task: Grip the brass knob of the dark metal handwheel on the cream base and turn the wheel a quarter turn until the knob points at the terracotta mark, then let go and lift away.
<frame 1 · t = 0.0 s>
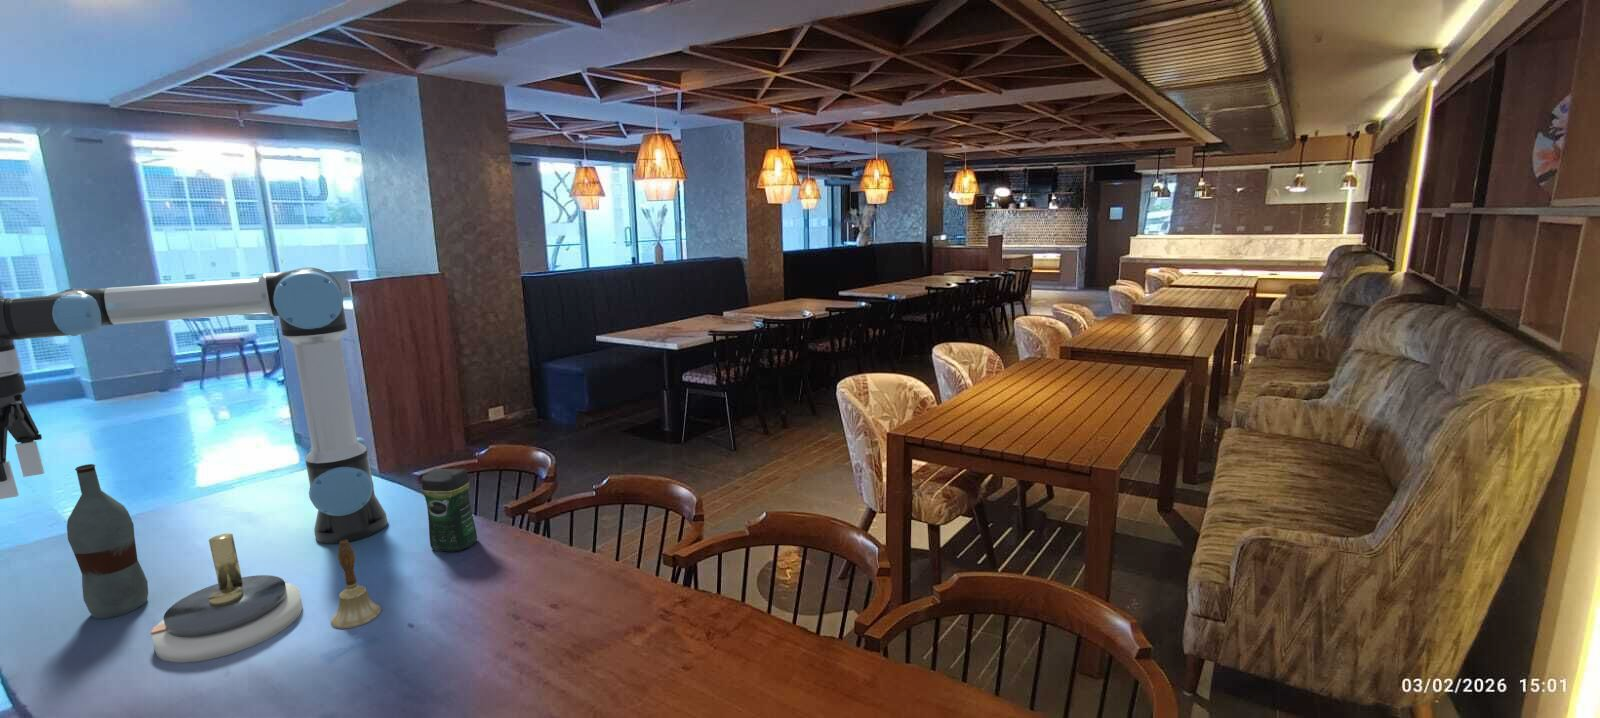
hand: (21, 485, 133), 28 cm above the table, tool pointing down, fingers open, 13 cm apart
coffee jar: (454, 545, 166), on the table
handwheel: (222, 580, 133), point 10 cm above the table, hinge at 0.0°
hand bell: (356, 617, 137), on the table
bottle: (120, 608, 143), on the table
wheel base: (232, 626, 135), on the table
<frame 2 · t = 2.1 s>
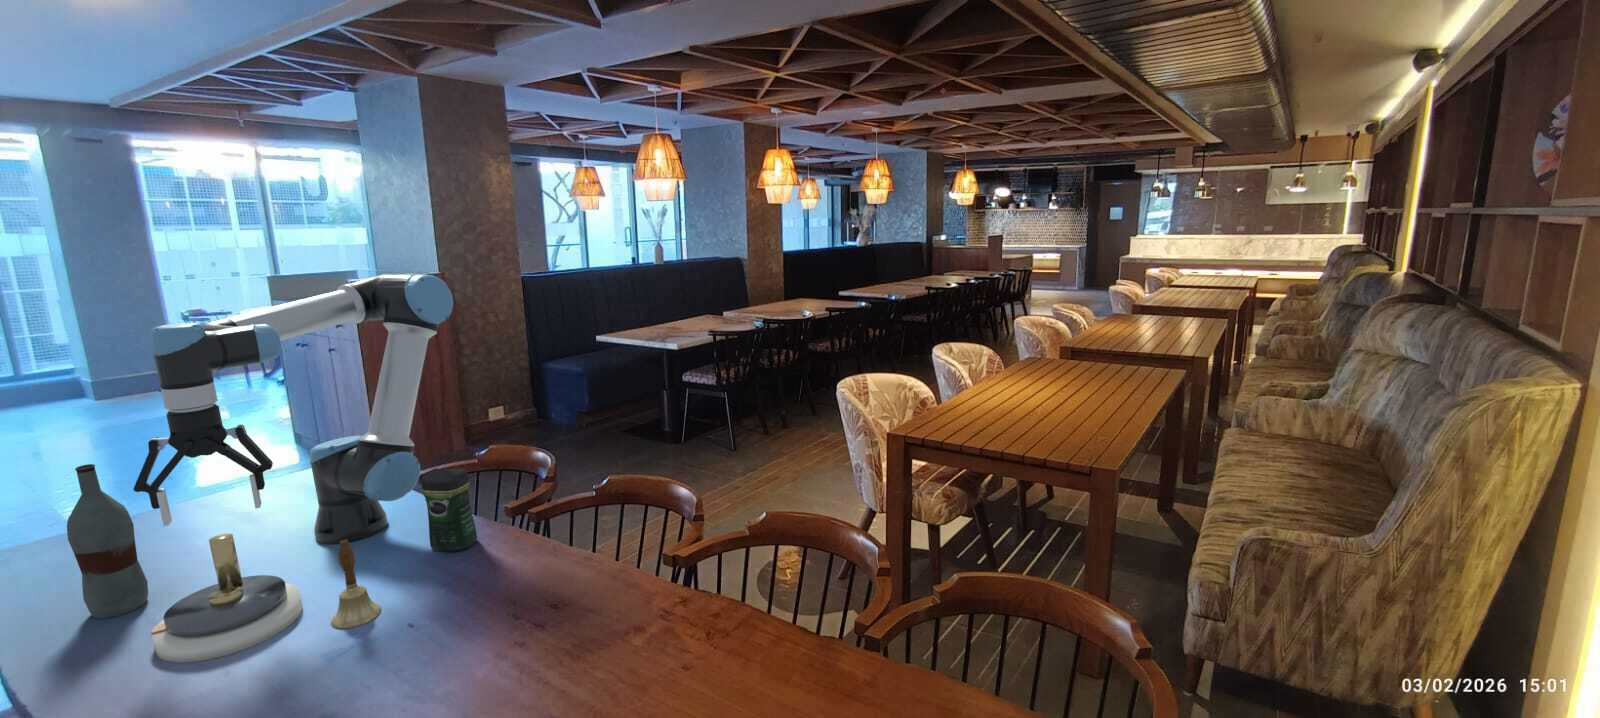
hand: (214, 514, 136), 20 cm above the table, tool pointing down, fingers open, 13 cm apart
nothing on the table moved.
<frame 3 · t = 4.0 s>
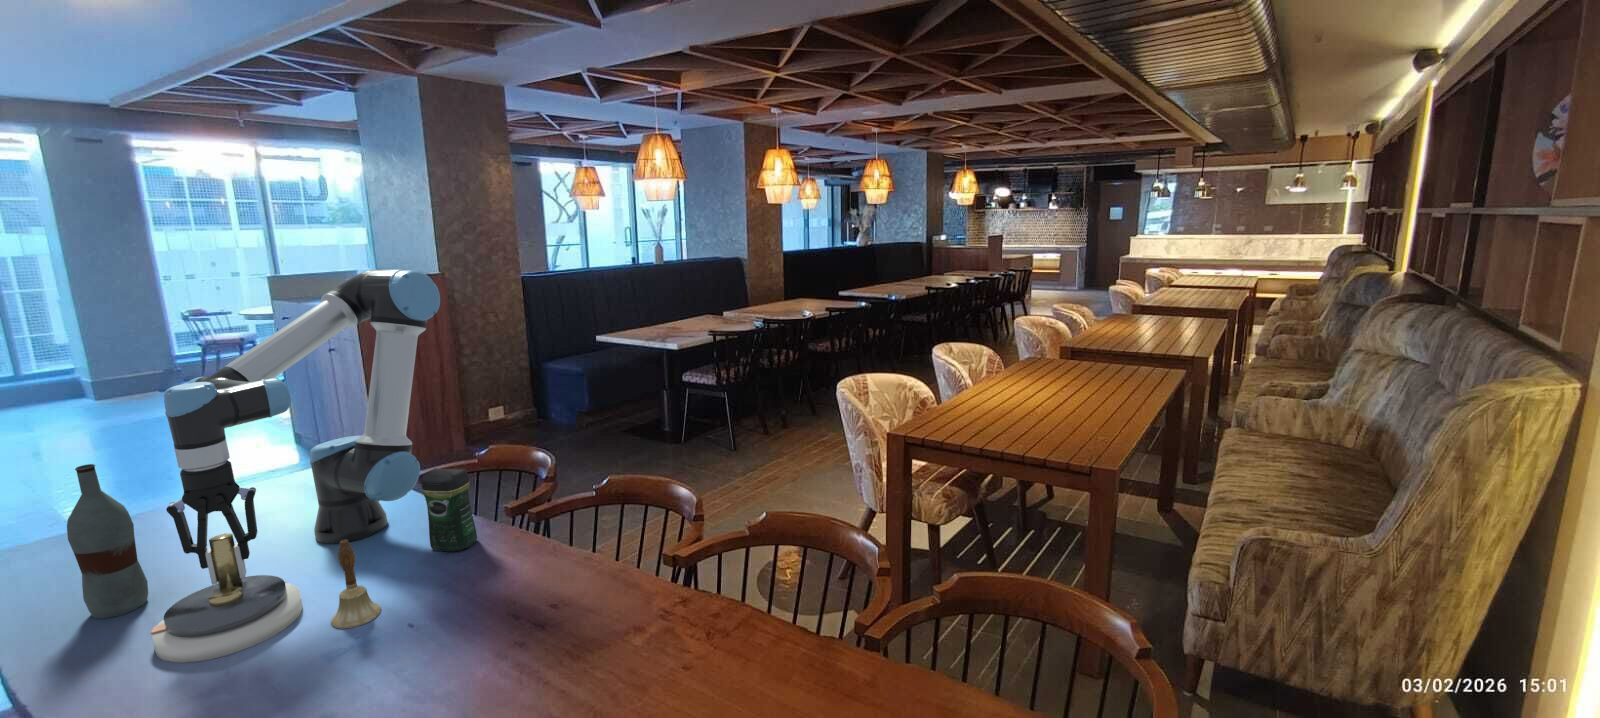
hand: (229, 577, 139), 7 cm above the table, tool pointing down, fingers closed on handwheel, 4 cm apart
handwheel: (222, 580, 133), point 10 cm above the table, hinge at 0.0°, touching gripper
everything else where it was.
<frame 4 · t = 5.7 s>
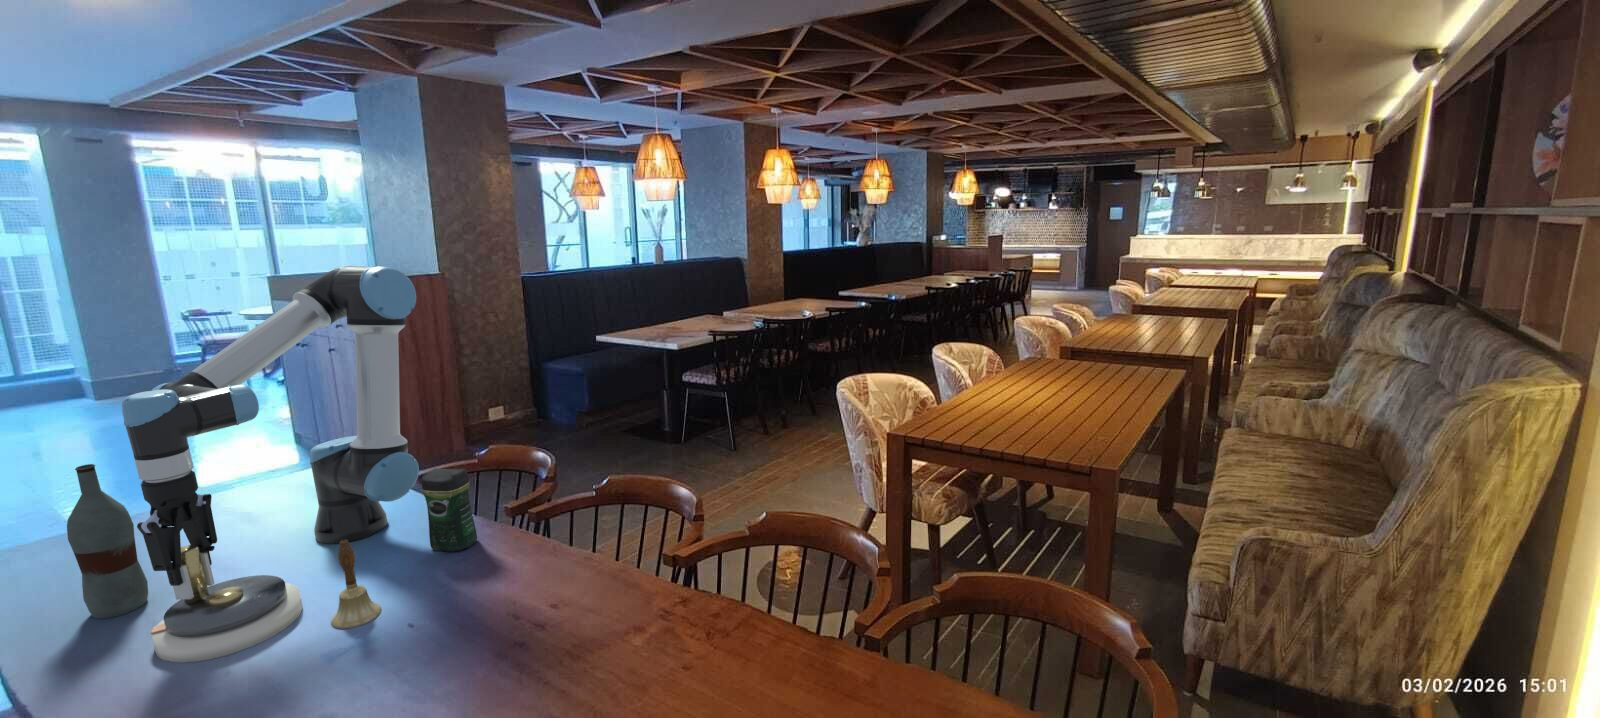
hand: (195, 591, 134), 7 cm above the table, tool pointing down, fingers open, 4 cm apart
handwheel: (222, 580, 133), point 10 cm above the table, hinge at 49.3°, touching gripper
everything else where it was.
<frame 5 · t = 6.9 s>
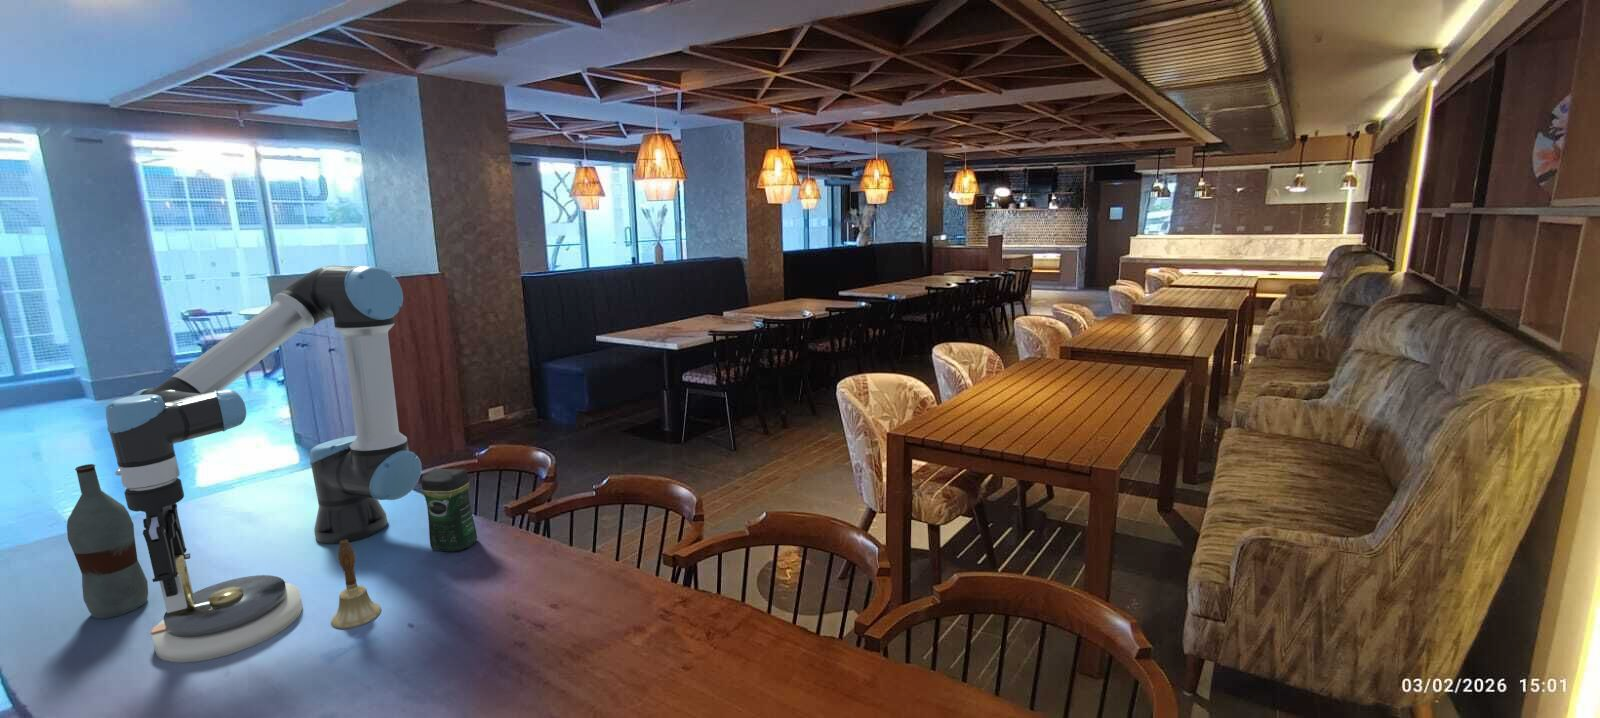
hand: (180, 602, 130), 7 cm above the table, tool pointing down, fingers open, 5 cm apart
handwheel: (222, 580, 133), point 10 cm above the table, hinge at 86.7°
everything else where it was.
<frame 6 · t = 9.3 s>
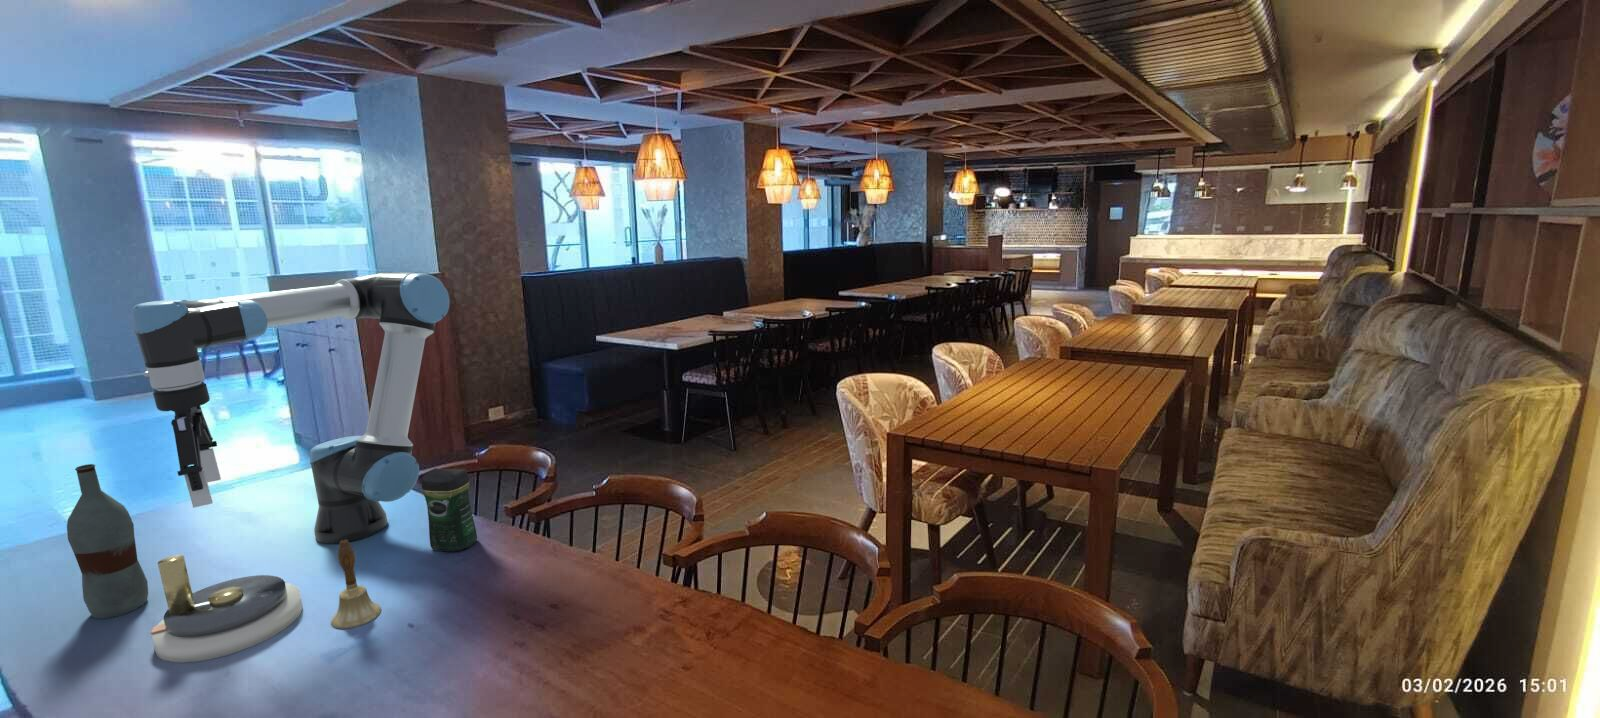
hand: (207, 492, 135), 25 cm above the table, tool pointing down, fingers open, 13 cm apart
nothing on the table moved.
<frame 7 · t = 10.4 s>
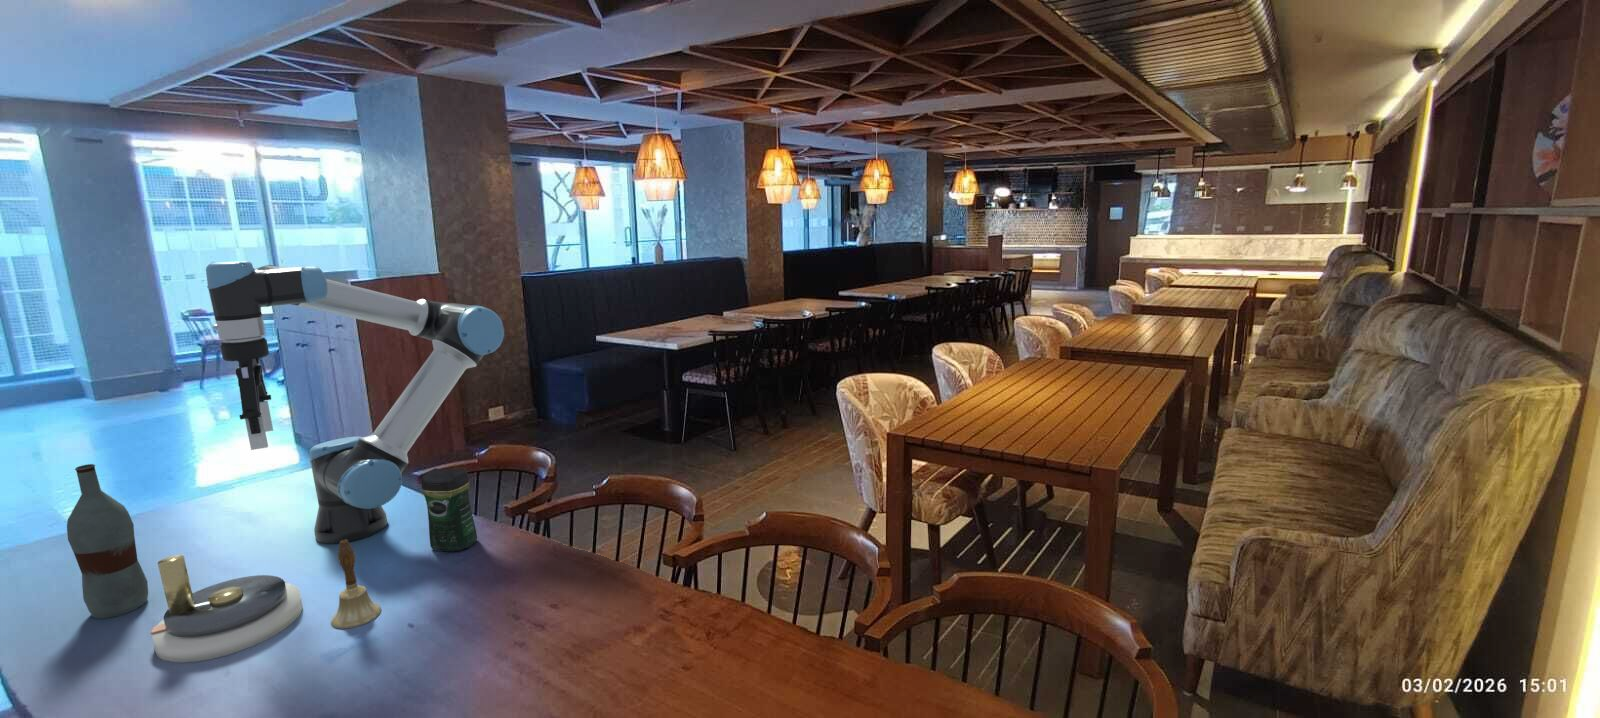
hand: (262, 439, 148), 31 cm above the table, tool pointing down, fingers open, 13 cm apart
nothing on the table moved.
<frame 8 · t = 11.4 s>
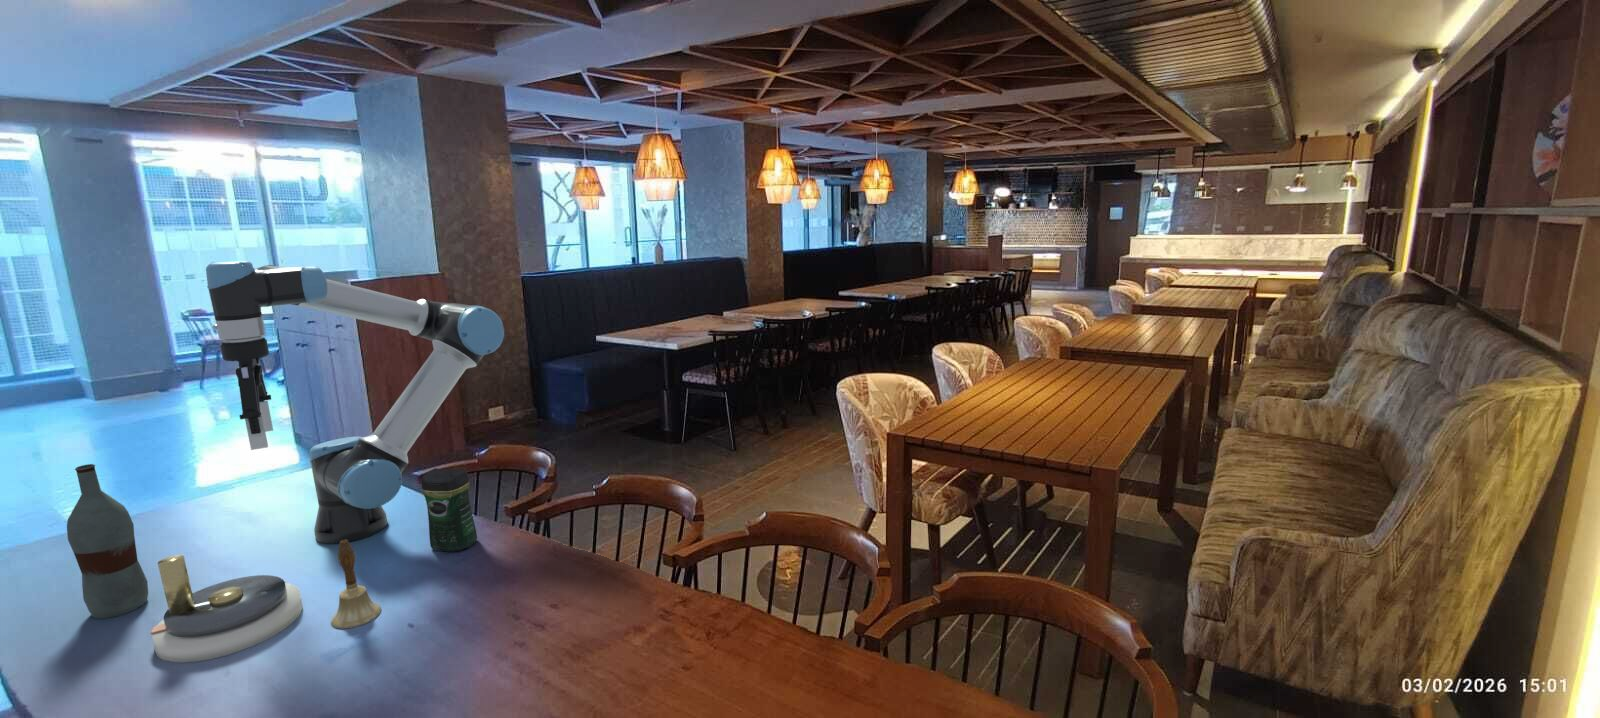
hand: (262, 439, 148), 31 cm above the table, tool pointing down, fingers open, 13 cm apart
nothing on the table moved.
at the end: handwheel at +87° (first picture: +0°) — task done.
